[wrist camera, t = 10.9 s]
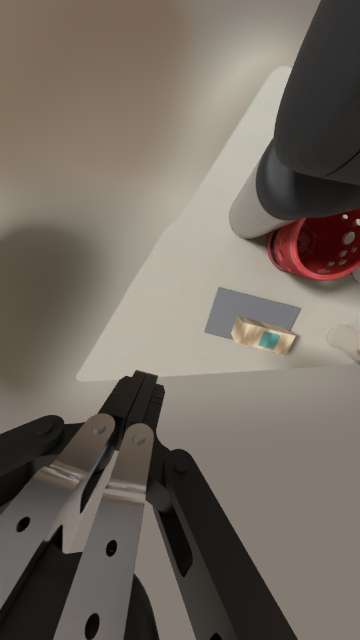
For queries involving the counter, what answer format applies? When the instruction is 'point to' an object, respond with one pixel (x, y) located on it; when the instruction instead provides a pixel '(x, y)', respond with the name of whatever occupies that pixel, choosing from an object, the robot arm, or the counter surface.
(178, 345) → the counter surface
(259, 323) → the maple block
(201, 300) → the counter surface
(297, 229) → the plant pot
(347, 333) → the beer glass
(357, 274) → the mug
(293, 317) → the rubber mat
